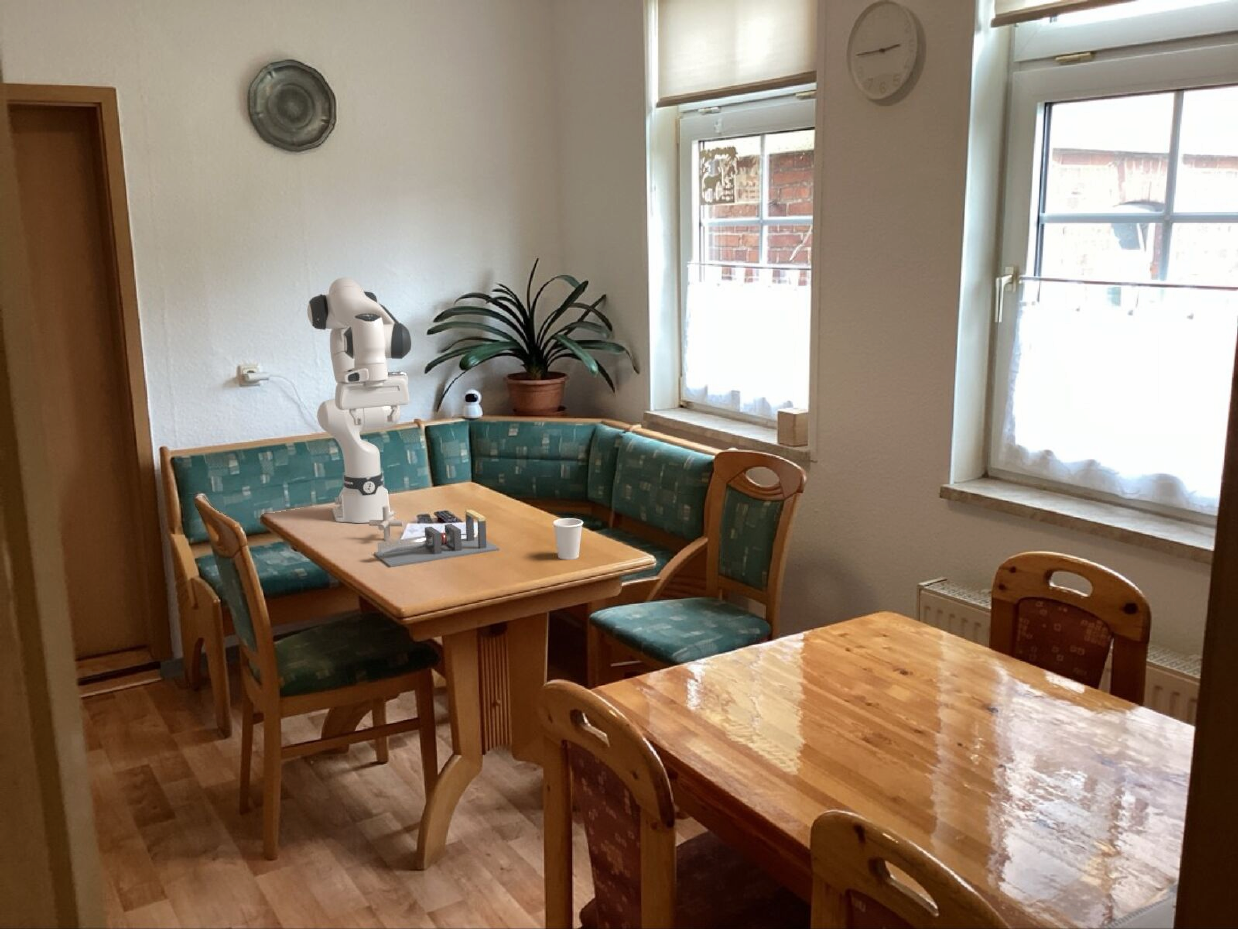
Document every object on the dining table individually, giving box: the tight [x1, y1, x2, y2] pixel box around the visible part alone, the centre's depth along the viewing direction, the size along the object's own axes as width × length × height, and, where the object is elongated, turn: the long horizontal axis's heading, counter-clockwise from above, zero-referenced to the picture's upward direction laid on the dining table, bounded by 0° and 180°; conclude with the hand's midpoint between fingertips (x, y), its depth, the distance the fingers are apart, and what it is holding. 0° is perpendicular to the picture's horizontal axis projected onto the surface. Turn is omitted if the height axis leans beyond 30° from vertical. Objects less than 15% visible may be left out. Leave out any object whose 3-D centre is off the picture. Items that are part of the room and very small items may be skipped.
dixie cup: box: [552, 517, 584, 561], centre depth 297 cm, size 8×8×10 cm
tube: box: [377, 532, 450, 554], centre depth 299 cm, size 4×20×4 cm, turn 120°
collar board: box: [373, 509, 500, 568], centre depth 302 cm, size 14×32×10 cm, turn 120°
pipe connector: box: [368, 505, 405, 541], centre depth 315 cm, size 10×10×10 cm
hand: (374, 423), depth 296 cm, fingers open, 8 cm apart
